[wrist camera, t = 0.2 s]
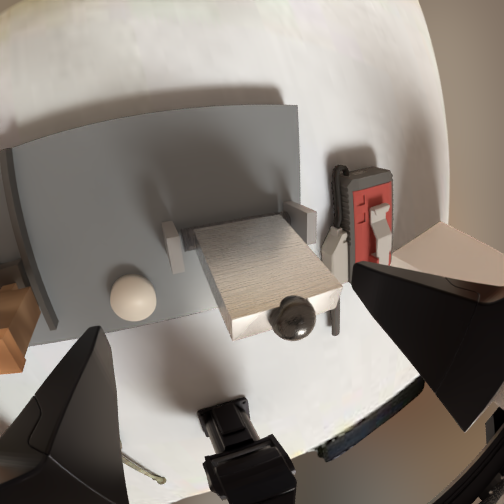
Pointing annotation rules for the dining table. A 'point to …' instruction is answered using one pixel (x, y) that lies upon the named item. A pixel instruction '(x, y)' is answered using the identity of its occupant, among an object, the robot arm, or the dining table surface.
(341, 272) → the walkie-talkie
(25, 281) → the walnut slider lever
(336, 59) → the dining table surface
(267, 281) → the light grey piece
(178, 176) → the control panel
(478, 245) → the milk
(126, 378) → the dining table surface
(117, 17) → the dining table surface
